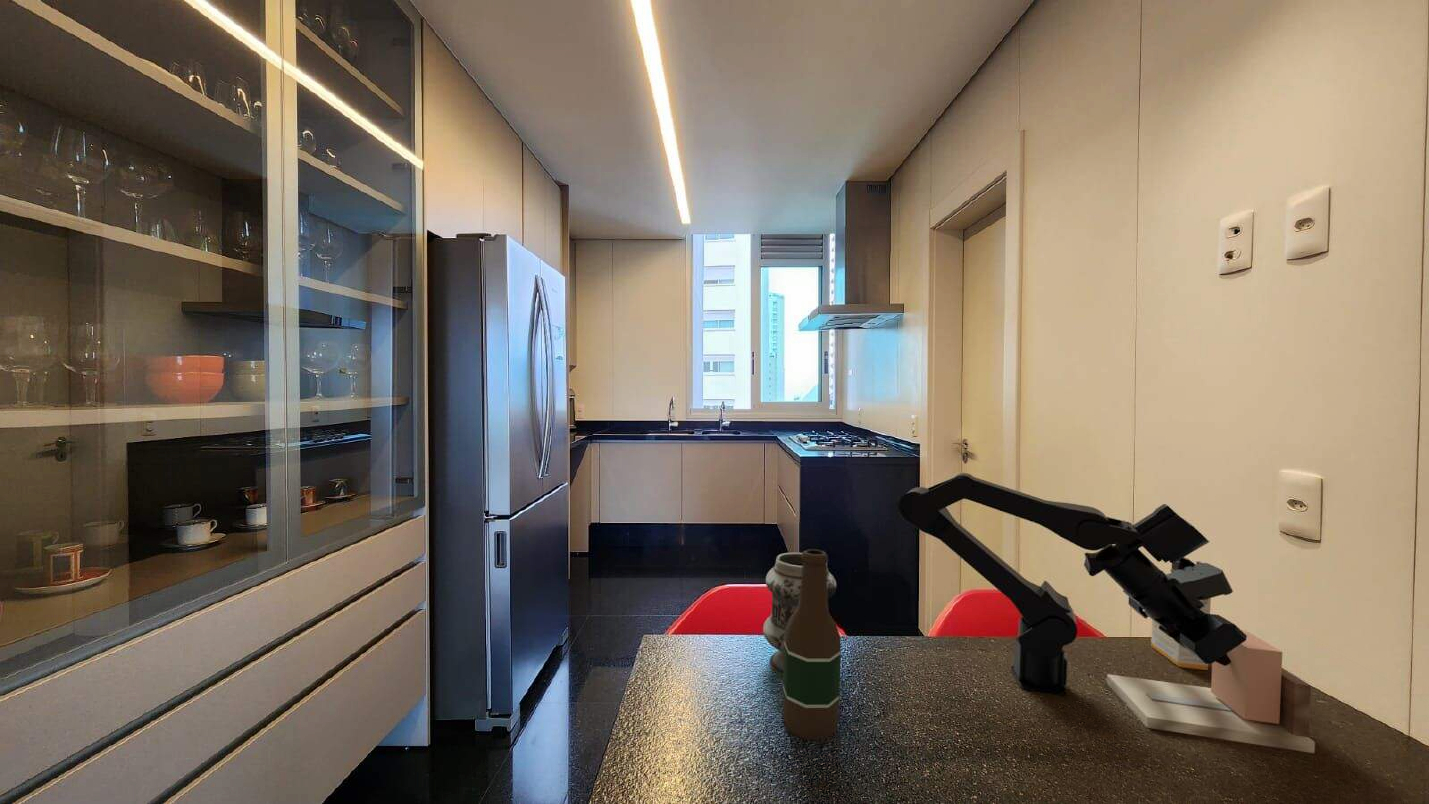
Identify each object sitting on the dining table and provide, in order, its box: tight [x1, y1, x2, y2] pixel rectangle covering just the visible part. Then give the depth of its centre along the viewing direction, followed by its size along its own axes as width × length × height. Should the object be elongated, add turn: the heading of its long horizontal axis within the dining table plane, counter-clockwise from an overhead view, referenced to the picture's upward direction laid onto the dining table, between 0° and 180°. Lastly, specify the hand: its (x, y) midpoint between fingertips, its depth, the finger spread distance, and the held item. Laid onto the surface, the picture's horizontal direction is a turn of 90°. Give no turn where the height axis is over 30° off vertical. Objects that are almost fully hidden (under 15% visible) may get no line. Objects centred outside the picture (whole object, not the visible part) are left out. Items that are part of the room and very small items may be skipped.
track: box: [1106, 667, 1316, 754], centre depth 79 cm, size 19×12×8 cm, turn 76°
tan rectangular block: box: [1210, 629, 1283, 724], centre depth 77 cm, size 4×7×10 cm, turn 166°
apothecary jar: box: [762, 552, 837, 677], centre depth 90 cm, size 12×12×18 cm
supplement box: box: [1150, 598, 1212, 671], centre depth 96 cm, size 8×5×13 cm, turn 168°
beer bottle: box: [781, 548, 842, 741], centre depth 73 cm, size 8×8×24 cm
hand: (1226, 663), depth 78 cm, fingers closed, pressing on tan rectangular block
